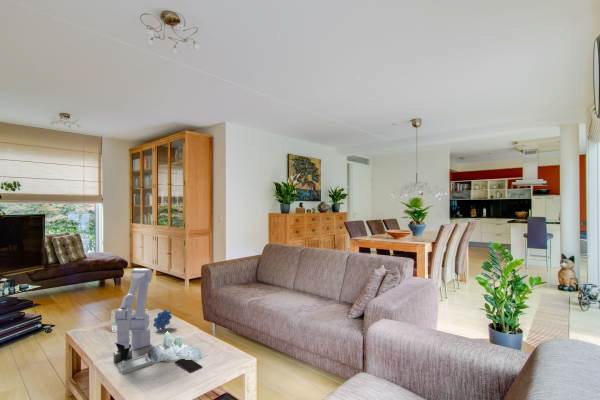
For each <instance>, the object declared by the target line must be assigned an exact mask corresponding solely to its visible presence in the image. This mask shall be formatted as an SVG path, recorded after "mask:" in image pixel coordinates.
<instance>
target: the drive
mask: <svg viewBox="0 0 600 400" xmlns="http://www.w3.org/2000/svg"><path fill="white" fill-rule="evenodd" d="M133 351H134V350H133V349H132V348H130V350H129V352H128V356H127V359H124V360H122V358H121V352H120V351H118V350H116V351H114V352H113V363H114V365H116V364H118V363H121V362H122V361H127V360H131V359H133Z"/></svg>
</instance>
